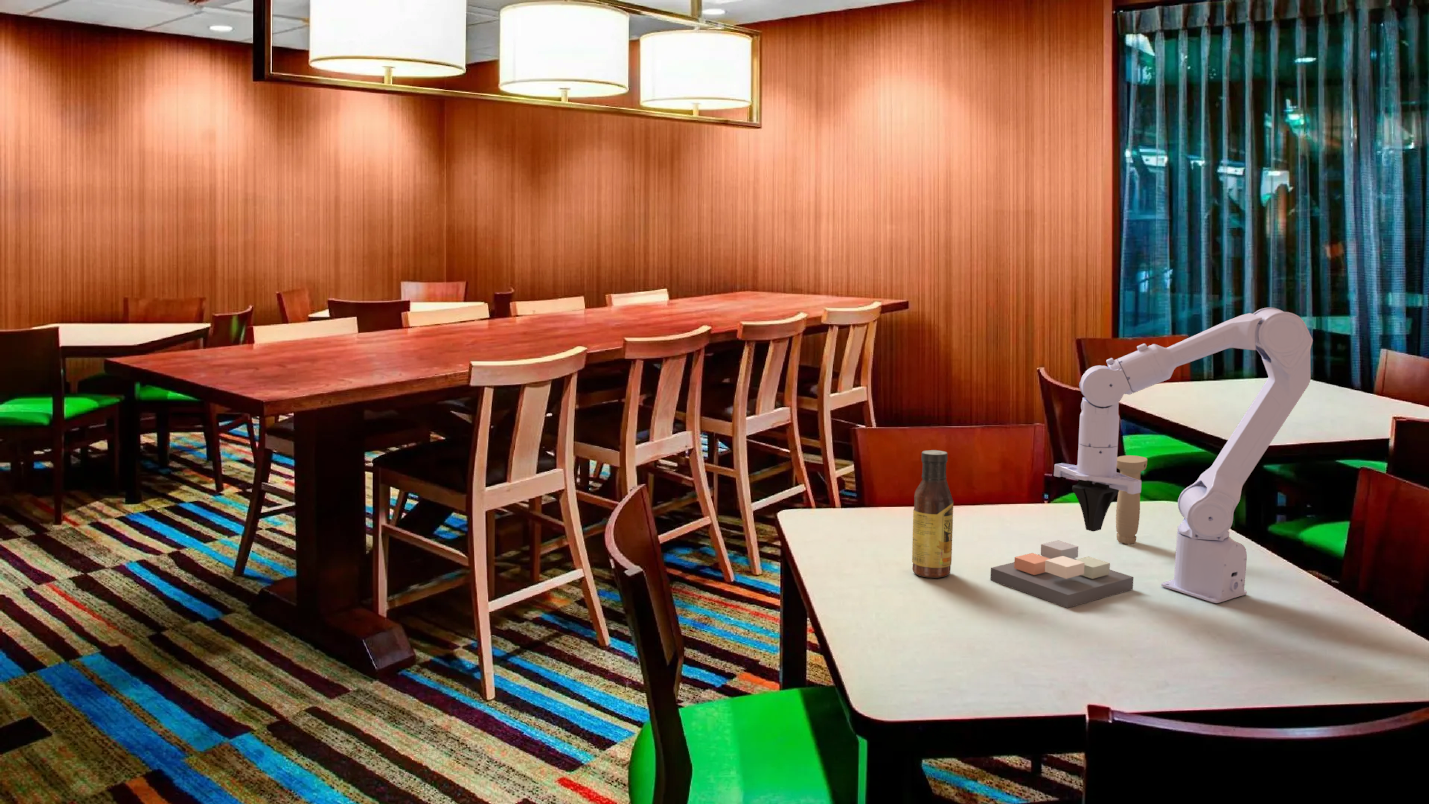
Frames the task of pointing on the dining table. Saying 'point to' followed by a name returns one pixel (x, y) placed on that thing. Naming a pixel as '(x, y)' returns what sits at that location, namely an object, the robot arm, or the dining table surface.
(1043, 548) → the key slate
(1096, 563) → the key sage
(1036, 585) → the keypad base
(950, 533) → the sauce bottle
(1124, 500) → the handle
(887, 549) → the dining table surface
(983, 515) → the dining table surface
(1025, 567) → the key terracotta
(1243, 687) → the dining table surface
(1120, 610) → the dining table surface
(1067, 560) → the key cream
